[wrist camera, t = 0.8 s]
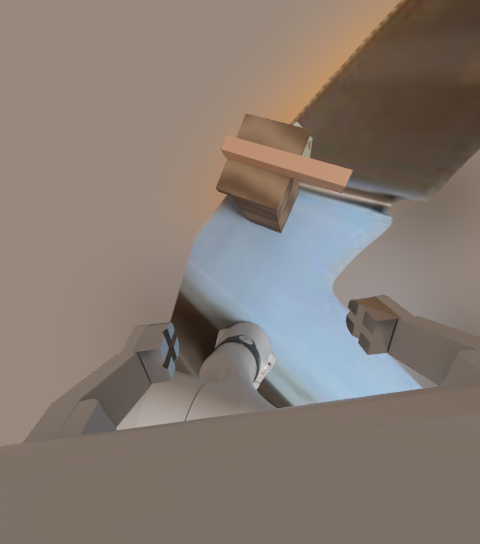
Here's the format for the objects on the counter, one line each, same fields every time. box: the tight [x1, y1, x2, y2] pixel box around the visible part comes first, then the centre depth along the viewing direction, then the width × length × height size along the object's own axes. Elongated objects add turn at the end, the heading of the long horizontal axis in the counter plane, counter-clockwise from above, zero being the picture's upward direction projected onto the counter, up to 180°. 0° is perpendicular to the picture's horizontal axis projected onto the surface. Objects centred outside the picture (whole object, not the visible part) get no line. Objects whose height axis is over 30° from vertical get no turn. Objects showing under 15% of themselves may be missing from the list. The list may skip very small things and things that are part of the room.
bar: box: [221, 135, 353, 193], centre depth 34 cm, size 2×21×2 cm, turn 66°
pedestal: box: [216, 114, 311, 233], centre depth 48 cm, size 14×12×26 cm
